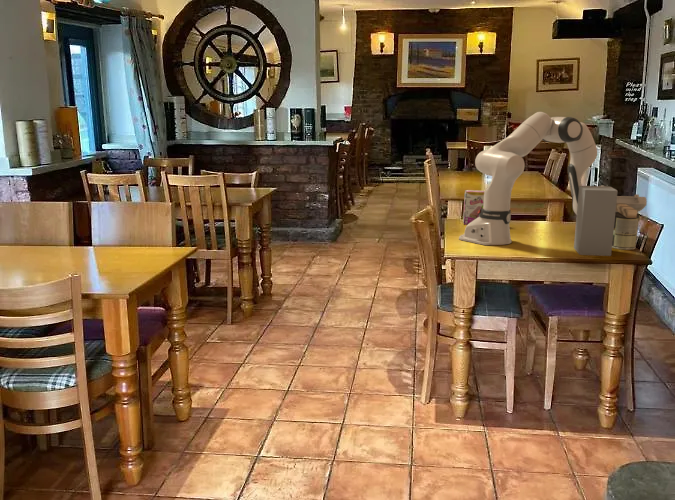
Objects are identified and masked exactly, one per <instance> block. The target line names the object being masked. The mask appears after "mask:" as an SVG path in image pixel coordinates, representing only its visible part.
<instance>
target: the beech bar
mask: <svg viewBox="0 0 675 500" xmlns="http://www.w3.org/2000/svg"><path fill="white" fill-rule="evenodd" d="M616 211H617V212H619V213H620V214H622V215H624V216H625V217H627V218H636V217H637V210H635V209H633V208H632V207H630V206H628V205H626V204H616Z"/></svg>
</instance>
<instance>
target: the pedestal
mask: <svg viewBox="0 0 675 500" xmlns="http://www.w3.org/2000/svg"><path fill="white" fill-rule="evenodd" d="M617 196H618V190H617V189H616V188H614V187H612V186H607V185H604V186H601V185H582V186H579V195H578V206H577V215H576V219H575V231H574V243H573V248H574V249H573V250H575V251H576V252H577V254H578V255H581V256H602V257H605V256H607V257H611V256H612V249H613V248H612V241H613V231H614V222H615V212H616V202H617Z"/></svg>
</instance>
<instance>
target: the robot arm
mask: <svg viewBox="0 0 675 500" xmlns="http://www.w3.org/2000/svg"><path fill="white" fill-rule="evenodd" d="M541 141H543V142H545V143H559V144H561V143H565V144H567V148H568V151H569V155H570V158H569V159H570V160H569V164H568V166H567V178H568V183H569V188H570V194H571V200H572V201H571V202H572V203H571V204H572V210H573V212H574V214H575V215H576V216H577V206H578V195H579V186H583V183H582V177H583V176H584V174H585V172H586V171H587V170H588V169H589V168H590V167H591V166H592V165H593V164H594V163H595V160H596V159H597V156H598V148H597V144H596V143H595V139H594V138H593V135H592V133H591V131H590V129H589V127H588V126H587V124H586V123H584V122H582V121H580V120H578V119H577V118H575V117H572V116H567V117H566V116H552V117H551V116H550V115H549V114H548V113H546V112H543V111H537V112H535V113H534V114H532V115H530V116H529V117H528V118H526V119H525V120H524V121H523V122H522V123H520V125H519V126H518V127H517V128H515V130H513V131H512V133H510V134H509V135H508V136H507V137H505V138H504V139H502V140H501V141H499V142H497V143H496V144H494V145H493V146H491V147H490V148H487V149H484V150H482V151H480V152H479V153H478V154H477V155H476V156H475V159H474V160H475V161H474V163H475V165H474V166H475V168H476V170H477V171H479V172H480V173H482V174H484V175H487V176H490V177H492V178H491V182H490V184H489V186H488V187H486V188H485V189H484V190H483V191H484V205H483V209H481V210H479V212H478V213H479V217H478V218H476V219H475V220H473V221H472V222H470V223H469V224H468V225H466V226H465V229H464V233H463V234H460V235H459V237H458V240H460V241H464V242H469V243H473V244H478V245H483V246H495V245H496V246H497V245H498V246H499V245H509V244H511V243H512V239H511V230H510V229H511V227H510V223H511V217H512V215H511V213H512V212H511V198H512V190H513V187H514V184H516V183H515V182H516V180H517V179H518V178H519V177H520V176H521V175H523V173H524V170H525V166H526V164H525V160H524V157H525V156H527V155H528V154H529V153H531V152H532V151H533V149H535V147H537V145H539V144H540V142H541ZM600 186H605V185H602V184H601V185H600ZM647 202H648V201H647V197H645V196H640V194H634V195H633V196H630V195H628V196H627V195H621V196H619V195H617V202H616V204H626V205H628V206H630V207H632V208H633V209H635V210H637V214H639V212H640V211H642V210H644V208H646V206H647ZM616 212H617V211H616Z"/></svg>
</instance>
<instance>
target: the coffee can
mask: <svg viewBox="0 0 675 500" xmlns="http://www.w3.org/2000/svg"><path fill="white" fill-rule="evenodd" d="M639 219H640V214H639V213H638V214H637V217H636V218H627V217H625V216H624V215H622V214H620V213H619V212H615V222H614V231H613V241H612V249H617V250H624V251H625V250H626V251H628V250H632V251H633V250H635V249H637V248H636V247H637V238H638V229H639Z"/></svg>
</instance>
